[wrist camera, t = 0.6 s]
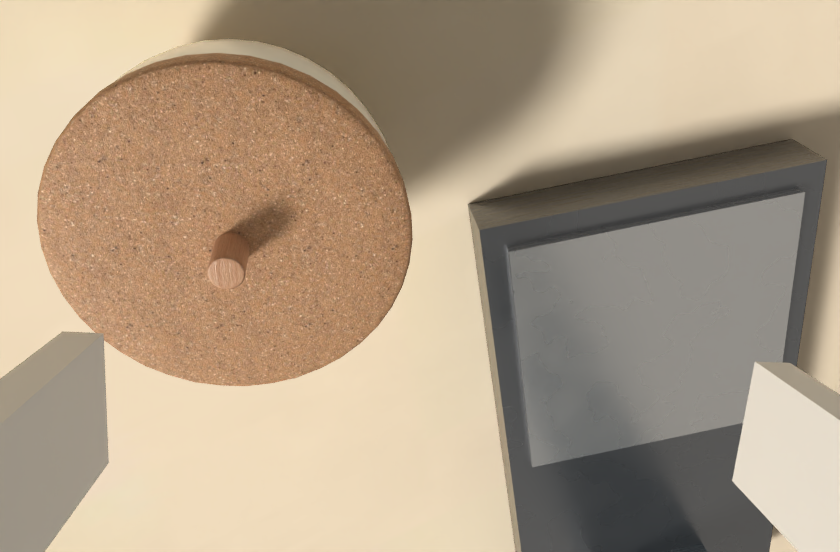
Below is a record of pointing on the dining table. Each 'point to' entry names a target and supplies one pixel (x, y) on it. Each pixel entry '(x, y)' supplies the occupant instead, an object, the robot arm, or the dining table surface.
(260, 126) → the lidded jar
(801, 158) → the arbor press
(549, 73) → the dining table surface
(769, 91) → the dining table surface
